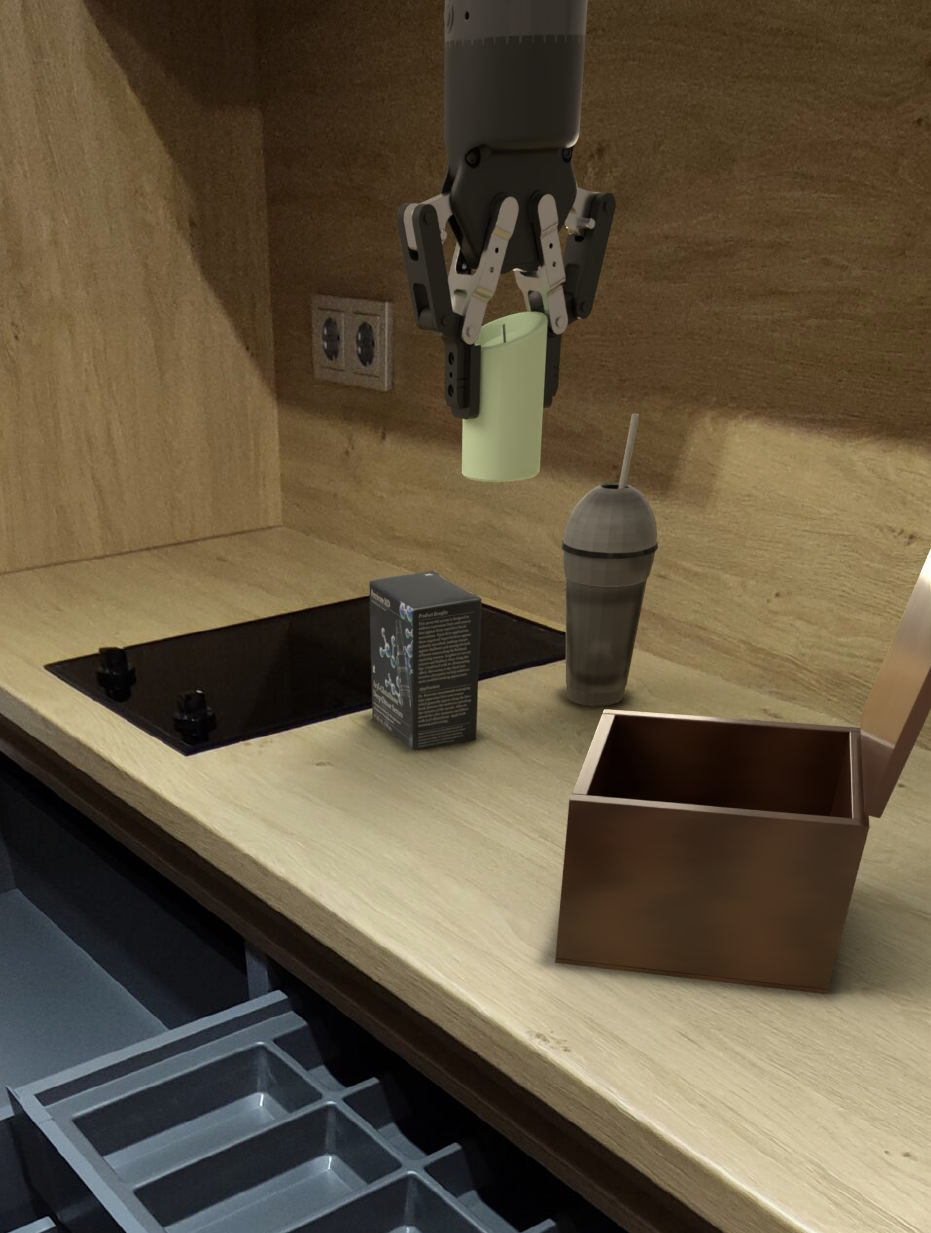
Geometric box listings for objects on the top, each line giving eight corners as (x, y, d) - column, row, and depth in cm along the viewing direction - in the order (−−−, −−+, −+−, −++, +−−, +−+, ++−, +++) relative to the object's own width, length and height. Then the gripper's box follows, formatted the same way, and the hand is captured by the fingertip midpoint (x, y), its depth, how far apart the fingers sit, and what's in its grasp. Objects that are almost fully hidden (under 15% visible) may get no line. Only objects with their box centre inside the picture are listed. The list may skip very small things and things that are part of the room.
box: (370, 725, 99) (367, 578, 92) (434, 713, 100) (436, 569, 93) (411, 758, 93) (411, 606, 86) (478, 746, 95) (484, 595, 88)
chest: (553, 971, 69) (569, 799, 63) (587, 866, 79) (604, 708, 73) (824, 1002, 66) (869, 826, 60) (825, 890, 76) (864, 727, 70)
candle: (495, 486, 77) (500, 322, 71) (445, 474, 80) (447, 316, 75) (555, 474, 79) (565, 314, 74) (505, 463, 82) (510, 308, 77)
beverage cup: (588, 682, 105) (614, 400, 92) (657, 702, 101) (695, 410, 88) (531, 703, 102) (549, 413, 88) (600, 725, 98) (630, 424, 84)
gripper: (437, 27, 61) (435, 435, 72) (666, 25, 66) (630, 407, 77) (363, 37, 66) (372, 417, 77) (581, 35, 71) (559, 392, 82)
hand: (501, 410), depth 77 cm, fingers closed on candle, 5 cm apart
